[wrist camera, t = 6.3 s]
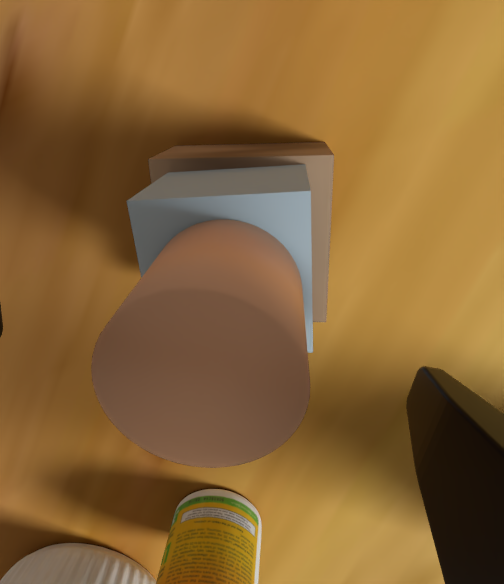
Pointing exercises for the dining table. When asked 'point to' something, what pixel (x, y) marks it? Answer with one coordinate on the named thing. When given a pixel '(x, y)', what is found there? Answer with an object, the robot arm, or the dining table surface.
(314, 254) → the walnut base block
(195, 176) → the slate block
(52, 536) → the dining table surface
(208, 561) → the supplement bottle
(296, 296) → the terracotta dowel
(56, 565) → the ramekin
